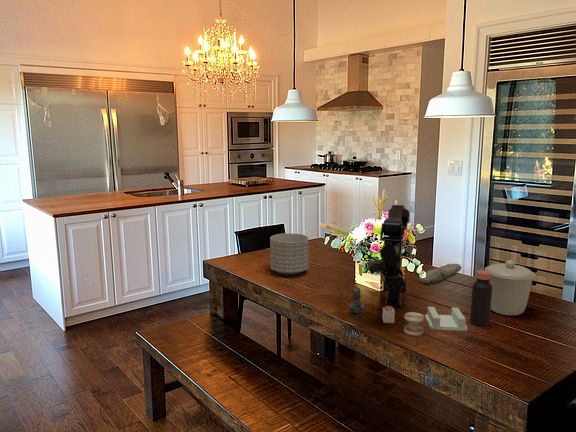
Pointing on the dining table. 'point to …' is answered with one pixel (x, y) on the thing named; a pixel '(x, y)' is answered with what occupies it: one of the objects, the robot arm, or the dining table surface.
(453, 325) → the notch board
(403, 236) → the robot arm
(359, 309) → the flange bolt
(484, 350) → the dining table surface
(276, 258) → the planter
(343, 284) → the dining table surface
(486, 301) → the bottle
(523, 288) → the canister
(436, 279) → the long grey stone
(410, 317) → the bobbin
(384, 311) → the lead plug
